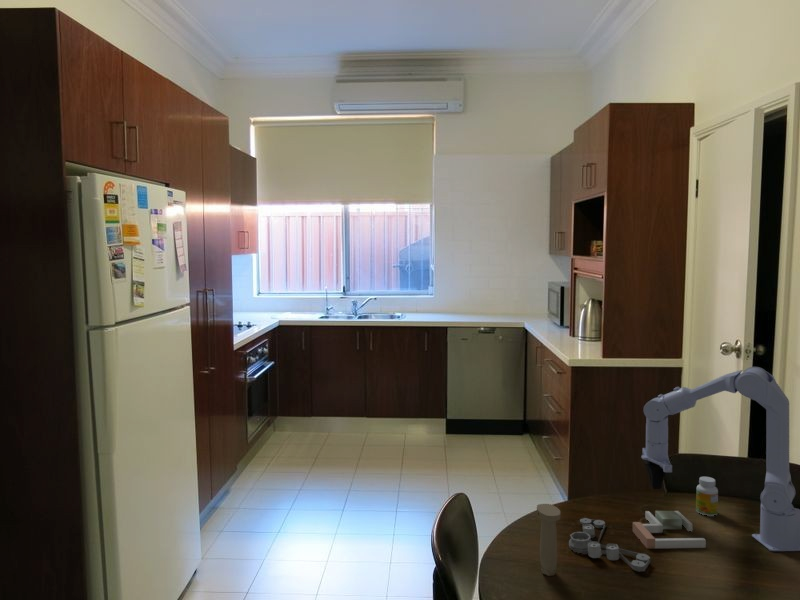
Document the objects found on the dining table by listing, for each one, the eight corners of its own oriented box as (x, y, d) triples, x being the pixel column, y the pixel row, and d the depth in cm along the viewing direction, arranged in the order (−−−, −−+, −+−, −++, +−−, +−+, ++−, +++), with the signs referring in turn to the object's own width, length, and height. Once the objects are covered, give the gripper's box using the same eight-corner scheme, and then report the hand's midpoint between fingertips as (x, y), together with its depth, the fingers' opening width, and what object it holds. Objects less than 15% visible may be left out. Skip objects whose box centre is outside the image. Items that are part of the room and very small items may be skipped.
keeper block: (673, 521, 155) (673, 510, 155) (681, 530, 150) (681, 519, 150) (655, 521, 156) (655, 510, 155) (662, 529, 151) (662, 519, 150)
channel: (677, 517, 157) (678, 510, 157) (709, 547, 140) (709, 539, 140) (629, 518, 157) (629, 511, 157) (655, 548, 141) (655, 540, 140)
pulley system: (599, 584, 127) (659, 572, 130) (598, 563, 127) (658, 552, 130) (547, 532, 154) (597, 523, 157) (545, 515, 154) (596, 506, 157)
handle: (544, 581, 127) (544, 516, 126) (533, 566, 133) (532, 504, 132) (564, 579, 128) (564, 514, 127) (552, 564, 134) (552, 502, 133)
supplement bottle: (691, 510, 161) (691, 476, 161) (706, 507, 163) (706, 474, 162) (706, 518, 156) (707, 483, 156) (722, 515, 158) (722, 481, 157)
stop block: (640, 531, 150) (640, 522, 149) (655, 548, 141) (655, 538, 140) (632, 531, 150) (632, 522, 149) (646, 548, 141) (647, 538, 140)
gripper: (632, 433, 166) (631, 478, 167) (653, 449, 152) (653, 498, 153) (656, 433, 166) (655, 478, 167) (680, 449, 152) (679, 498, 153)
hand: (656, 488), depth 160 cm, fingers closed
